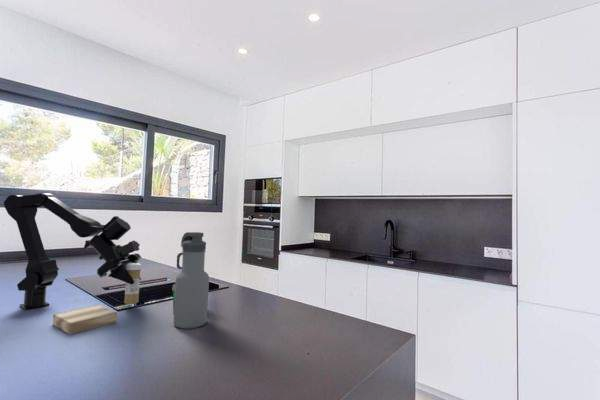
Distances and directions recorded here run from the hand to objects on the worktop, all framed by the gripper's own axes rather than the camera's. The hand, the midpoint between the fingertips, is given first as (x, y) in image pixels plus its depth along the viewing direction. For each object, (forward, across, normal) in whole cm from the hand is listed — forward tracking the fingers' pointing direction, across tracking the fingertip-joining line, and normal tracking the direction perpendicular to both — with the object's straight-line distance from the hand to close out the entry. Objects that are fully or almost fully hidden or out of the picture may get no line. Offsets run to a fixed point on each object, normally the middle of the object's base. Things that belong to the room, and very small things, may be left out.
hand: (136, 282), depth 108 cm
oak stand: (+2, -15, +12) cm, 19 cm away
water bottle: (+23, -14, -10) cm, 29 cm away
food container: (+20, -1, -7) cm, 21 cm away
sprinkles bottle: (+4, 0, +6) cm, 7 cm away
